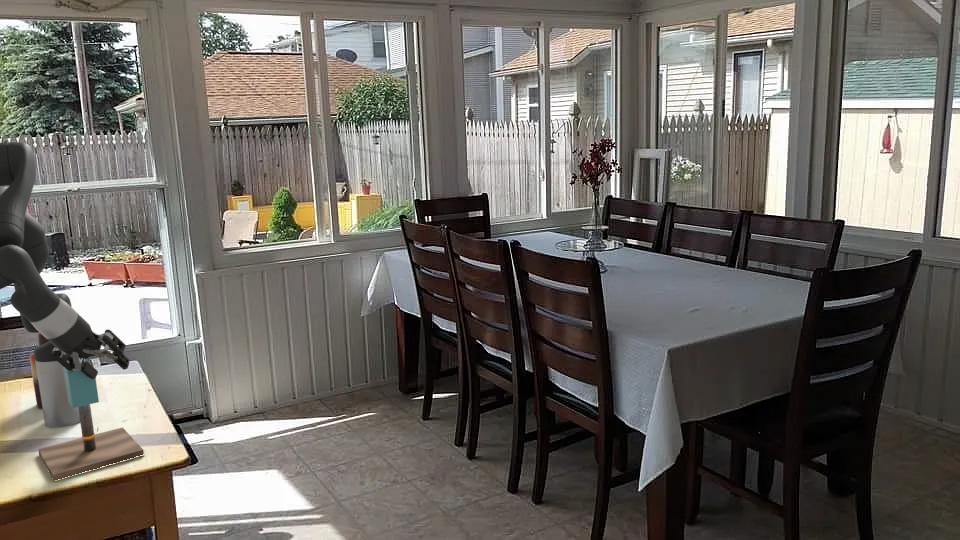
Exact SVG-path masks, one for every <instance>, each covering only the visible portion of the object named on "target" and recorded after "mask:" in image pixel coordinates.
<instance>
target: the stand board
mask: <svg viewBox="0 0 960 540" xmlns="http://www.w3.org/2000/svg"><path fill="white" fill-rule="evenodd" d="M95 443H96V449H95V450H93V451H89V452H86V451H84V444H83V441H82V437H80V438H75V439H72V440H68V441H63V442H61V443H57V444H53V445H49V446H45V447H41V448H38V455H39V458H40V457H41V458H40V459H41V460H42V463H43V464H45V465H44V466H45V468H46V470H47V472H48V471H49V472H48V473H50V474H49V475H50V477H51V479H52V478H53V479H52V481H53V480H54V481H53V482H56V481H55V480H58V479H61V480H63V479H62V478H65V477H68V476H72V475H75V474H79V473H82V472H85V471H89V470H93V469H97V468H100V467H102V466H106V465H109V464H113V463H117V462H120V461H123V460H127V459H130V458H134V457H136V456H140V455H143V454H144V455H145V451H144V449H143V448H142V447H141V445H140V444H139V443H138V442H137V441H136V440H135V439H134V438H133V437H132V436H131V435H130V433H128V432H127V430H126V429H125V428H124V427H118V428H115V429H110V430H107V431H103V432H99V433H95ZM100 469H101V468H100ZM97 470H98V469H97ZM93 471H94V470H93ZM79 475H80V474H79ZM72 477H73V476H72ZM65 479H66V478H65ZM58 481H59V480H58Z"/></svg>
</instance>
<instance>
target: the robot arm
mask: <svg viewBox="0 0 960 540" xmlns="http://www.w3.org/2000/svg"><path fill="white" fill-rule="evenodd" d="M36 177H37V163H36V158H35V154H34V151H33V149H32V147H31V146H30V145H29V144H28V143H26V142H22V141H21V142H19V141H12V142H11V141H9V142H8V141H7V142H0V290H2V289H4V288H7V287H9V286H10V285H13V287H14V288H13V289H14V292H13V293H12V295H11V297H10V304H11V306H12V307H13V308H14V309H15V310H16V311H17V312H18V313H19V315H20V318H21V322H22V326H23V327H24V329H25V330H26V332H28V333H34V334H35V333H37V334H38V333H39V332H40V333H41V334H42V335H43V336H44V337H45V338H46V339H48V340H49V342H47V343H45V344H42V345H40V346H37V347H36V348H35V349H34V351H33V352H34V356H35V362H36V369H37V375H38V381H39V388H40V394H41V401H42V407H43V409H42V413H43V421H44V425H45V426H46V427H48V428H63V427H64V428H65V427H67V426H71V425H76V424H78V423H80V417H79V410H78V407H76V408H73V407H72V406H71V405H70V404H69V402H68V397H67V390H66V384H65V377H64V370H63V368H66V369H67V370H68V371H71V370H72V369H76V370H80V371H81V372H83V373H84V374H85V375H86V376H87V377H89V378H91V379H95V378H96V379H97V376H98V374H99V372H98V370H97V369H96V368H95V367H94V366H93V365H92V364H90V362H89V361H86V359H88V358H90V357H96V356H97V357H100V358H109V359H111V360H113V361H114V363H116V364H117V365H118V366H119V367H120V368H121V369H122V370H123V371H124V370H127V369H128V368H129V365H130V359H129V358H128V357H127V356H126V355H125V354H124V352H125V349H126V347H127V345H126V344H125V342H123V340H122V339H120V337H118V336H117V335H116V334H115V332H113V331H112V330H111V329H108V328H107V329H105V331H104V333H101V334H98V333H96V332H94V331H93V330H92V327H91V325H90V324H89V323H88V321H87V320H86V319H84V317H82V316H81V315H80V314H79V312H77V311H76V310H75V309H74V308H73V307H72V302H71V299H70V297H69V296H68V294H67V293H55V292H54V290H52V289H51V288H50V287H49V286H48V285H47V284H46V283H45V281H44V279H43V278H42V276H41V273H42V271H43V269H44V268H45V266H46V265H47V263H48V260H49V257H50V247H49V245H48V239H47V236H46V232H45V229H44V227H43V226H42V224H41V223H40V222H39V221H38V220H37V219H36V218H34V217H33V216H32V215H31V214H30V213H28V212H27V208H28V205H29V202H30V199H31V197H32V194H33V190H34V185H35V182H36ZM6 186H8V187H7V188H6V189H4V187H6ZM102 347H103V350H101V349H102ZM110 351H111V352H110ZM71 355H72V356H73V357H72V356H71Z"/></svg>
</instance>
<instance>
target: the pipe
mask: <svg viewBox="0 0 960 540" xmlns="http://www.w3.org/2000/svg"><path fill="white" fill-rule="evenodd" d="M71 356H72V355H71ZM72 357H73V356H72ZM73 371H76V369H73ZM91 408H92V407H91V404H89V405H84V406H80V407H78V410H79V417H80V422H79V424H80V430H81V438H82V441H83V444H84V451H86V452H89V451H93V450H95V449H96V443H95V434H96V432H94V431H95V429H94V423H93V416H92V409H91Z"/></svg>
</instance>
